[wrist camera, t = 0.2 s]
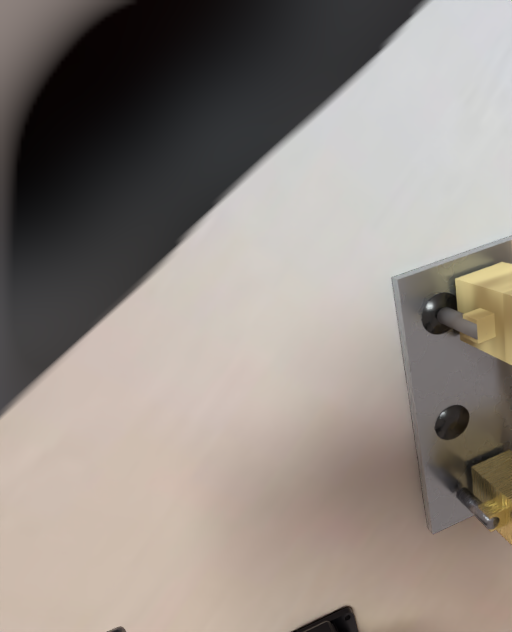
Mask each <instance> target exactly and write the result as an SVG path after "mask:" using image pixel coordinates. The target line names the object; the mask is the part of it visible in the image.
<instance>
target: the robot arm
mask: <svg viewBox="0 0 512 632" xmlns="http://www.w3.org/2000/svg"><path fill="white" fill-rule="evenodd" d="M107 632H126V630H125V629H124V628H123V627H121V626H120V627H117V628H115V629H112V630H110V631H107ZM296 632H358V630H357V626H356V622H355V618H354V615H353V612H352V610H351V609H350V608H344V609H342V610H339V611H337V612H335V613H333V614H331V615H329V616H327V617H325V618H323V619H321V620H319V621H317V622H314V623H312V624H310V625H308V626H306V627H304V628H302V629H300V630H298V631H296Z"/></svg>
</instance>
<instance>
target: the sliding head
mask: <svg viewBox="0 0 512 632" xmlns="http://www.w3.org/2000/svg"><path fill="white" fill-rule="evenodd" d="M471 472H472V484H473V493H472V492H470V491H469V490H468V489H467V488H466V487H463V488H461V489H459V490H458V491H457V493H456V498H457V499H458V500H459V501H460V502H461V503H462V504H463V505H464V506H465V507H466V508H467V509H468V510H469V511H470V512H471V513H472V514H473V515H474V516H475V517H476V518H477V519H478V520H479V521H480V522H481V523H482V524H483V525H484V526H485V527H486V528H487V529H488V530H489V531H490V532H492V531H494V530H497V531H498V532H499V533H500V534H501V535H502V536H503V537H504V538H505V539H506V540H507V541H508V542H509V543H510V544H511V545H512V451H511V450H508V451H505V452H503V453H501V454H499V455H496V456H494V457H492V458H490V459H487V460H485V461H483V462H481V463H478V464H476V465H474V466H472V467H471Z"/></svg>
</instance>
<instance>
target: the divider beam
mask: <svg viewBox="0 0 512 632" xmlns="http://www.w3.org/2000/svg"><path fill="white" fill-rule="evenodd" d="M511 242H512V240H511ZM455 285H456V297H457V309H458V311H456V310H454V309H451V308H449V307H444V308H442V309H441V310H440V311H439V312H438V314H437V320H438V321H439V322H440V323H442V324H444V325H446V326H448V327H451V328H453V329H455V330H457V331H459V332H460V340H461V341H463V342H465V343H467V344H469V345H471V346H473V347H475V348H477V349H480V350H482V351H484V352H486V353H488V354H490V355H492V356H494V357H496V358H498V359H500V360H502V361H504V362H506V363H508V364H510V365H512V264H509V263H505V262H500V263H497V264H495V265H492V266H489V267H486V268H483V269H481V270H478V271H475V272H472V273H470V274H467V275H464V276H461V277H458V278H456V279H455Z"/></svg>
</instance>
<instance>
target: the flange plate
mask: <svg viewBox="0 0 512 632" xmlns="http://www.w3.org/2000/svg"><path fill="white" fill-rule="evenodd" d="M511 240H512V236H509V237H506V238H503V239H500V240H498V241H495V242H492V243H489V244H486V245H483V246H480V247H477V248H475V249H472V250H469V251H466V252H463V253H460V254H457V255H455V256H452V257H449V258H446V259H443V260H440V261H437V262H434V263H432V264H429V265H426V266H423V267H420V268H417V269H414V270H412V271H409V272H406V273H403V274H400V275H397V276H394V277H392V284H393V291H394V298H395V305H396V312H397V319H398V326H399V333H400V340H401V347H402V354H403V361H404V367H405V374H406V381H407V388H408V395H409V402H410V409H411V416H412V423H413V430H414V437H415V444H416V451H417V458H418V465H419V472H420V479H421V485H422V492H423V499H424V506H425V513H426V520H427V527H428V529H429V530H430V532H431V533H432V534H435V533H437V532H439V531H441V530H443V529H446V528H448V527H450V526H452V525H454V524H456V523H458V522H461V521H463V520H465V519H467V518H469V517H471V516H473V514H472V513H471V512H470V511H469V510H468V509H467V508H466V507H465V506H464V505H463V504H462V503H461V502H460V501H459V500H458V499H457V498H456V493H457V491H458V490H459V489H461V488H463V487H466V488H467V489H468V490H469V491H470V492H472V493H473V484H472V472H471V467H472V466H474V465H476V464H478V463H481V462H483V461H485V460H487V459H490V458H492V457H494V456H496V455H499V454H501V453H503V452H505V451H508V450H511V451H512V365H510V364H508V363H506V362H504V361H502V360H500V359H498V358H496V357H494V356H492V355H490V354H488V353H486V352H484V351H482V350H480V349H477V348H475V347H473V346H471V345H469V344H467V343H465V342H463V341H461V340H460V332H459V331H457V330H455V329H453V328H451V327H448V326H446V325H444V324H442V323H440V322H439V321H438V320H437V314H438V312H439V311H440V310H441V309H442V308H444V307H449V308H451V309H454V310H456V311H458V309H457V297H456V285H455V279H456V278H458V277H461V276H464V275H467V274H470V273H472V272H475V271H478V270H481V269H483V268H486V267H489V266H492V265H495V264H497V263H500V262H505V263H509V264H512V242H511Z"/></svg>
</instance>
